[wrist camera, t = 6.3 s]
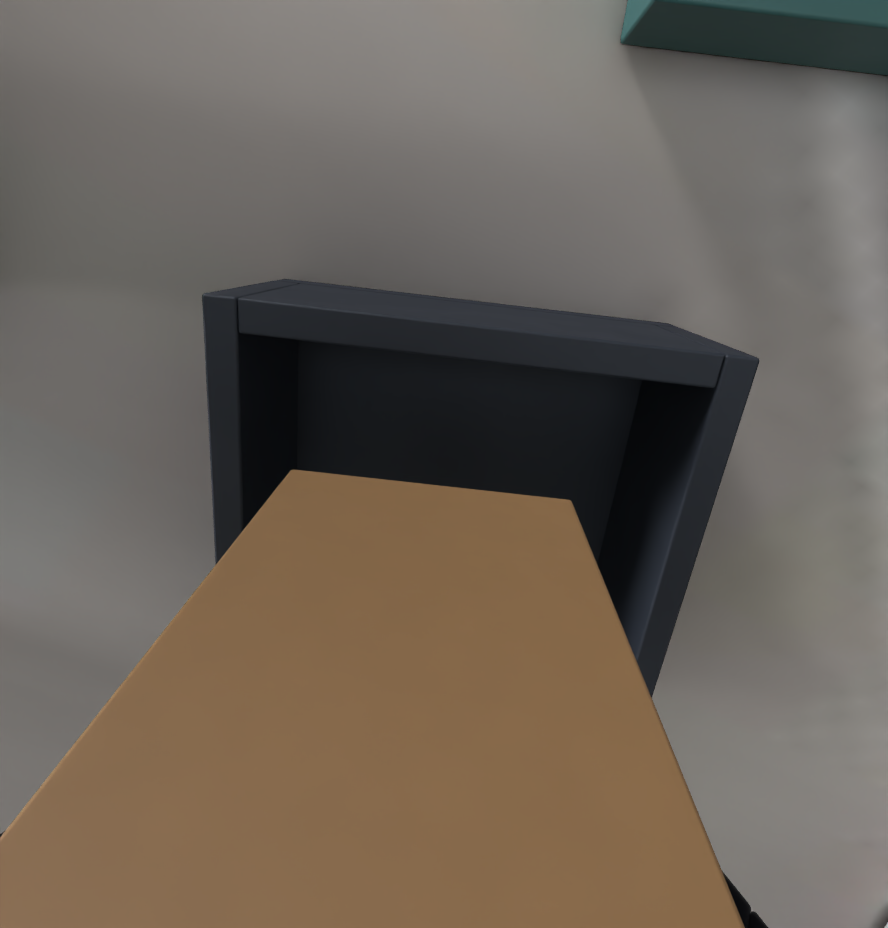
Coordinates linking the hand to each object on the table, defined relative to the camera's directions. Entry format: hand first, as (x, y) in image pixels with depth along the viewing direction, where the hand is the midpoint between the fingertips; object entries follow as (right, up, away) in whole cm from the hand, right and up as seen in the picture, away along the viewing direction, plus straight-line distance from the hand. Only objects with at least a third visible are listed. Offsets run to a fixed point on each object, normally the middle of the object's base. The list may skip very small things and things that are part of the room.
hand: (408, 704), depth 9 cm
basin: (+1, +3, +11) cm, 12 cm away
